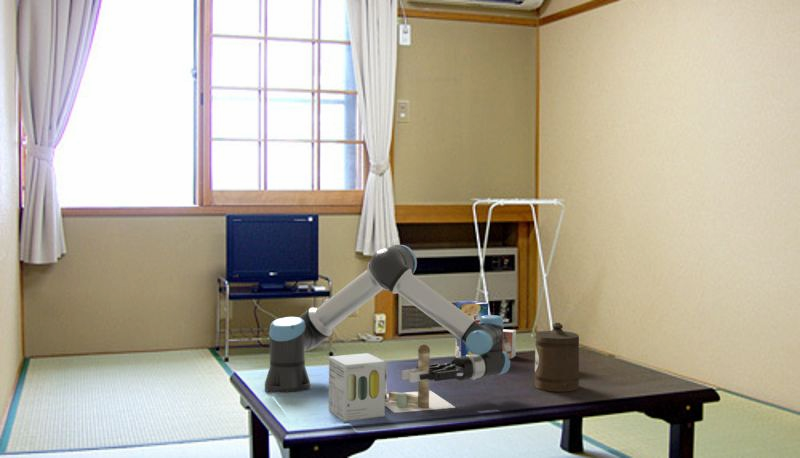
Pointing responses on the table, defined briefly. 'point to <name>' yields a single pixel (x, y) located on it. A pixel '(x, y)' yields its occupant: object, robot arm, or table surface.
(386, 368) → the hinge post
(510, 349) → the small box
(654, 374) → the table surface
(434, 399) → the board
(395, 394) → the gate
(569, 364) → the wooden container
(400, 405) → the post
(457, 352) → the blue tall rectangular box
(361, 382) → the supplement box
